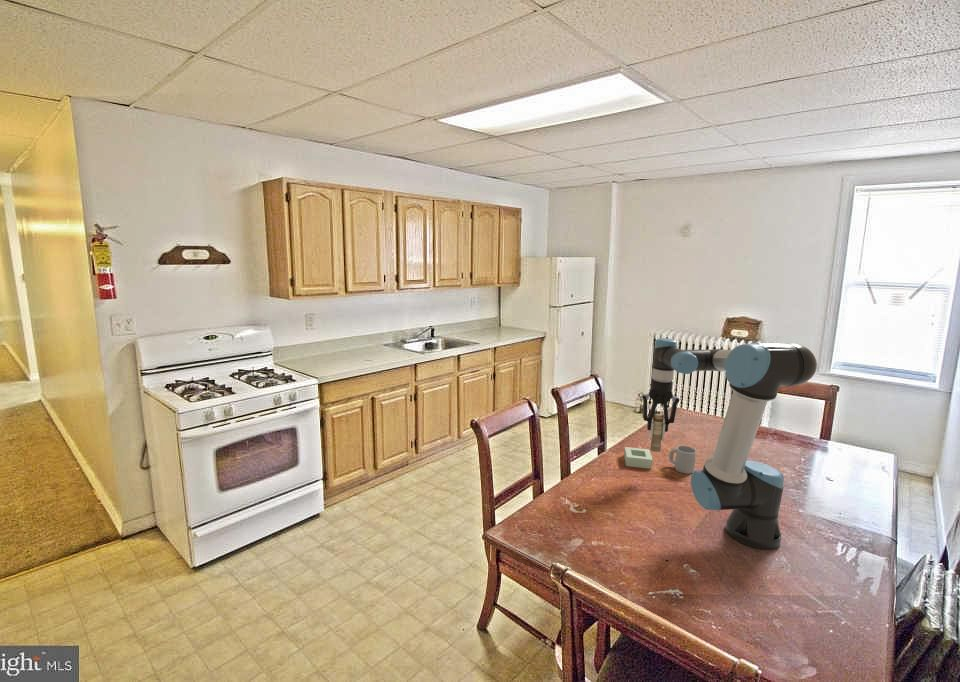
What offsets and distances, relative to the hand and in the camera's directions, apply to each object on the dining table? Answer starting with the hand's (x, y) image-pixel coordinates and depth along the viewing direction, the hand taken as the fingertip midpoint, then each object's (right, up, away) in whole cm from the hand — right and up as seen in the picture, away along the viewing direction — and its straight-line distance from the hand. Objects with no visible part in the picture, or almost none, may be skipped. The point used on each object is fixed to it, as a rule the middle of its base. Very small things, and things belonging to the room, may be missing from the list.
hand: (656, 438), depth 182 cm
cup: (+14, -15, +11) cm, 23 cm away
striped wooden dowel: (0, -5, +1) cm, 5 cm away
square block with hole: (-2, -13, +16) cm, 21 cm away
